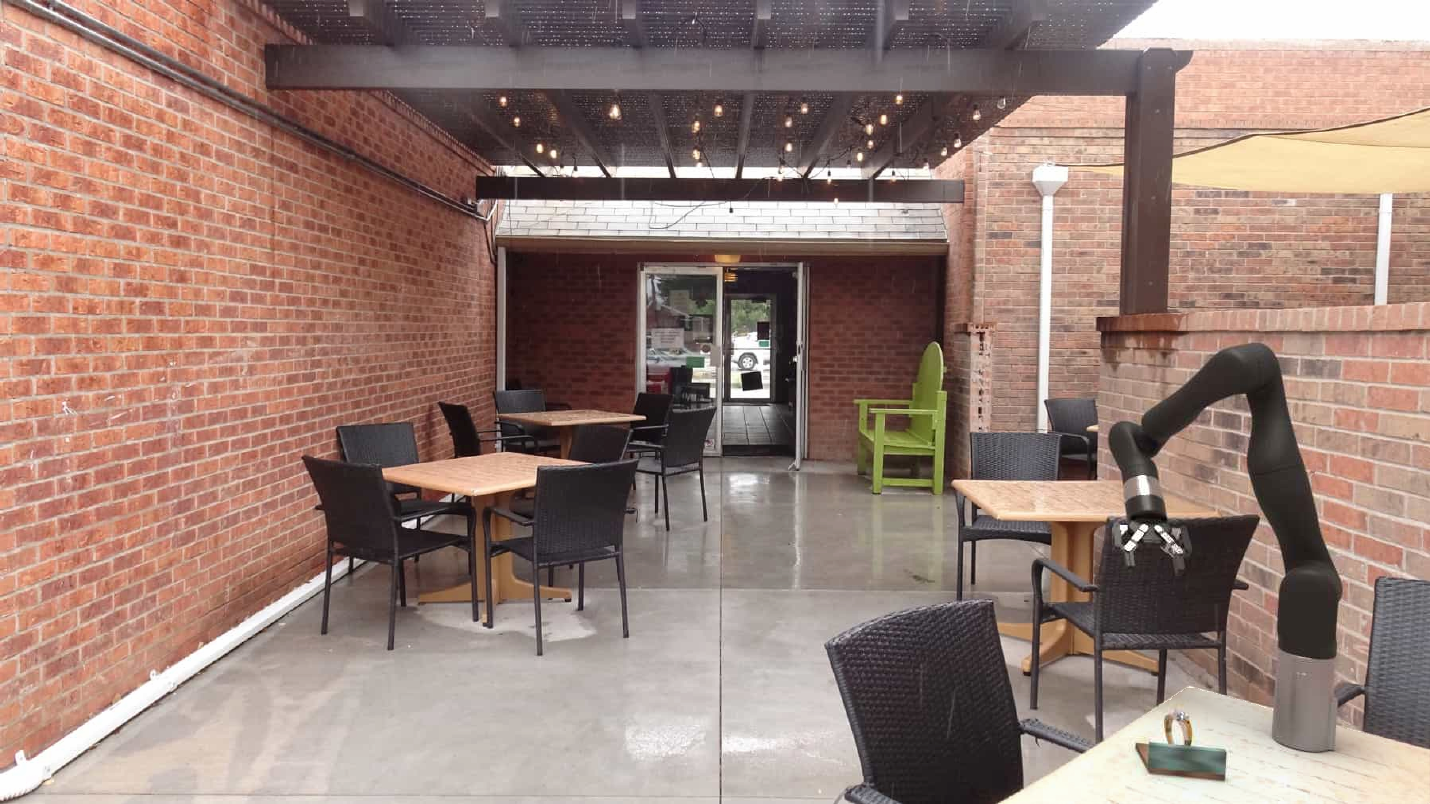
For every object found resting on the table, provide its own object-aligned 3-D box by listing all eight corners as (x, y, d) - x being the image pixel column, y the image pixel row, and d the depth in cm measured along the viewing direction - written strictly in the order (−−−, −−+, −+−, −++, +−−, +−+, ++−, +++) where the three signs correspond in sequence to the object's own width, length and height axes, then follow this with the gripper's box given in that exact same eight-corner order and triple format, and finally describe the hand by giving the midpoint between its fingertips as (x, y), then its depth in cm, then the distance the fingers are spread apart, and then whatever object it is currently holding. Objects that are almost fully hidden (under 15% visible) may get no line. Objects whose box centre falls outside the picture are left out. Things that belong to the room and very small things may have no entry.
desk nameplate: (1206, 754, 172) (1208, 727, 171) (1225, 780, 162) (1226, 752, 162) (1135, 747, 174) (1136, 721, 174) (1149, 773, 164) (1150, 744, 164)
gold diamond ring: (1194, 764, 166) (1197, 719, 165) (1176, 763, 166) (1178, 719, 165) (1176, 746, 173) (1179, 703, 172) (1158, 746, 173) (1161, 702, 172)
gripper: (1111, 490, 196) (1120, 559, 185) (1186, 494, 193) (1200, 564, 183) (1104, 511, 201) (1113, 579, 191) (1177, 515, 199) (1190, 584, 188)
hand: (1155, 572), depth 187 cm, fingers open, 8 cm apart
